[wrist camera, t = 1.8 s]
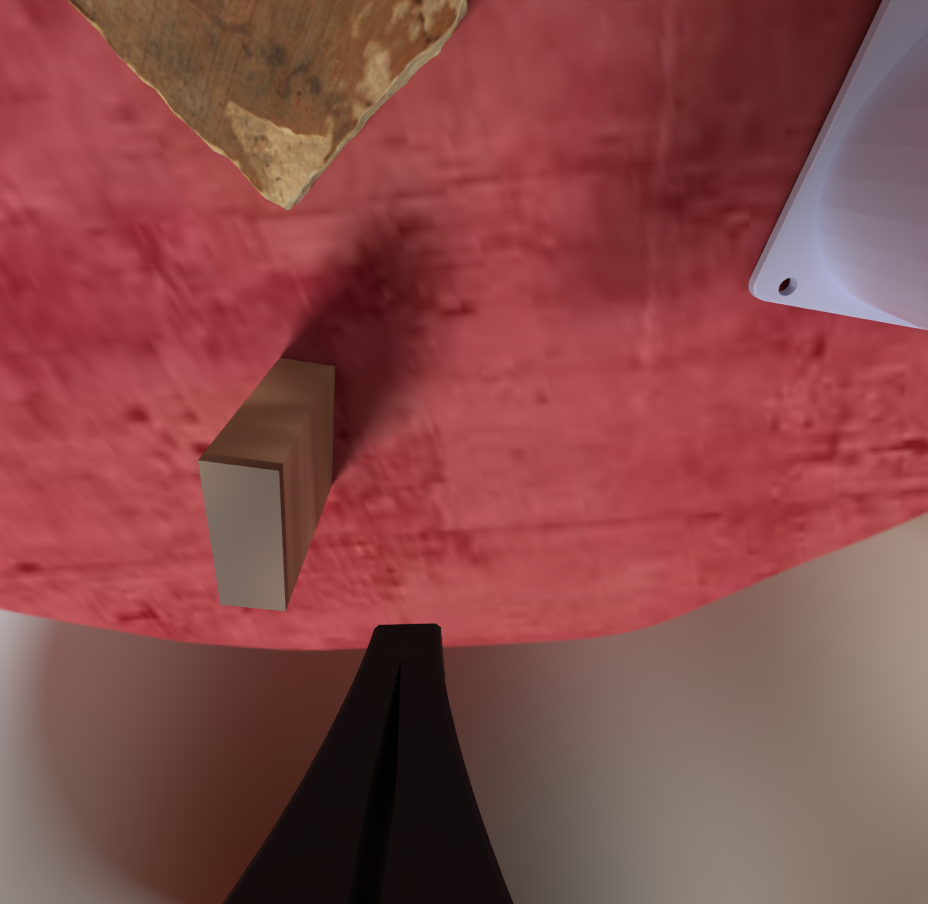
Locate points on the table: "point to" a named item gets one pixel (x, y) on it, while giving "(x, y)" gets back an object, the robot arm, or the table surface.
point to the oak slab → (270, 484)
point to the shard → (275, 71)
